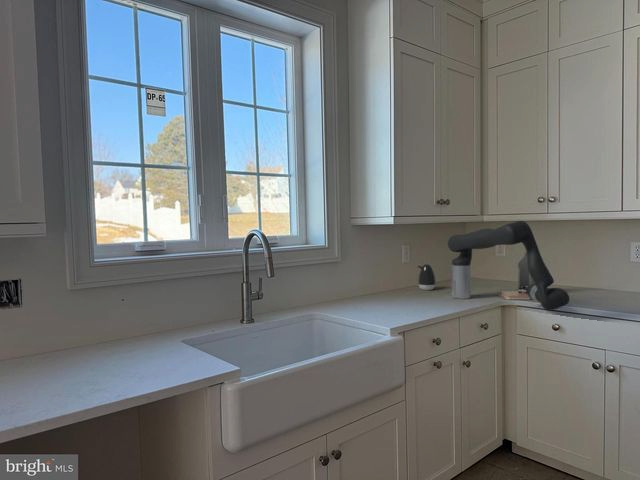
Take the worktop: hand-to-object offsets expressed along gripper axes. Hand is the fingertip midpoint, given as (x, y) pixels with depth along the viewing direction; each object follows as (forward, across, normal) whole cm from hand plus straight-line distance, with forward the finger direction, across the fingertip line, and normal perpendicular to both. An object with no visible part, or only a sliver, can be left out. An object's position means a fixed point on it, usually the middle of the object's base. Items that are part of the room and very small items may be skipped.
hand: (525, 287), depth 210 cm
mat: (+17, 0, +8) cm, 18 cm away
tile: (+9, 0, +6) cm, 11 cm away
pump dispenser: (+42, +42, +8) cm, 60 cm away
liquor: (+29, -11, +8) cm, 32 cm away
